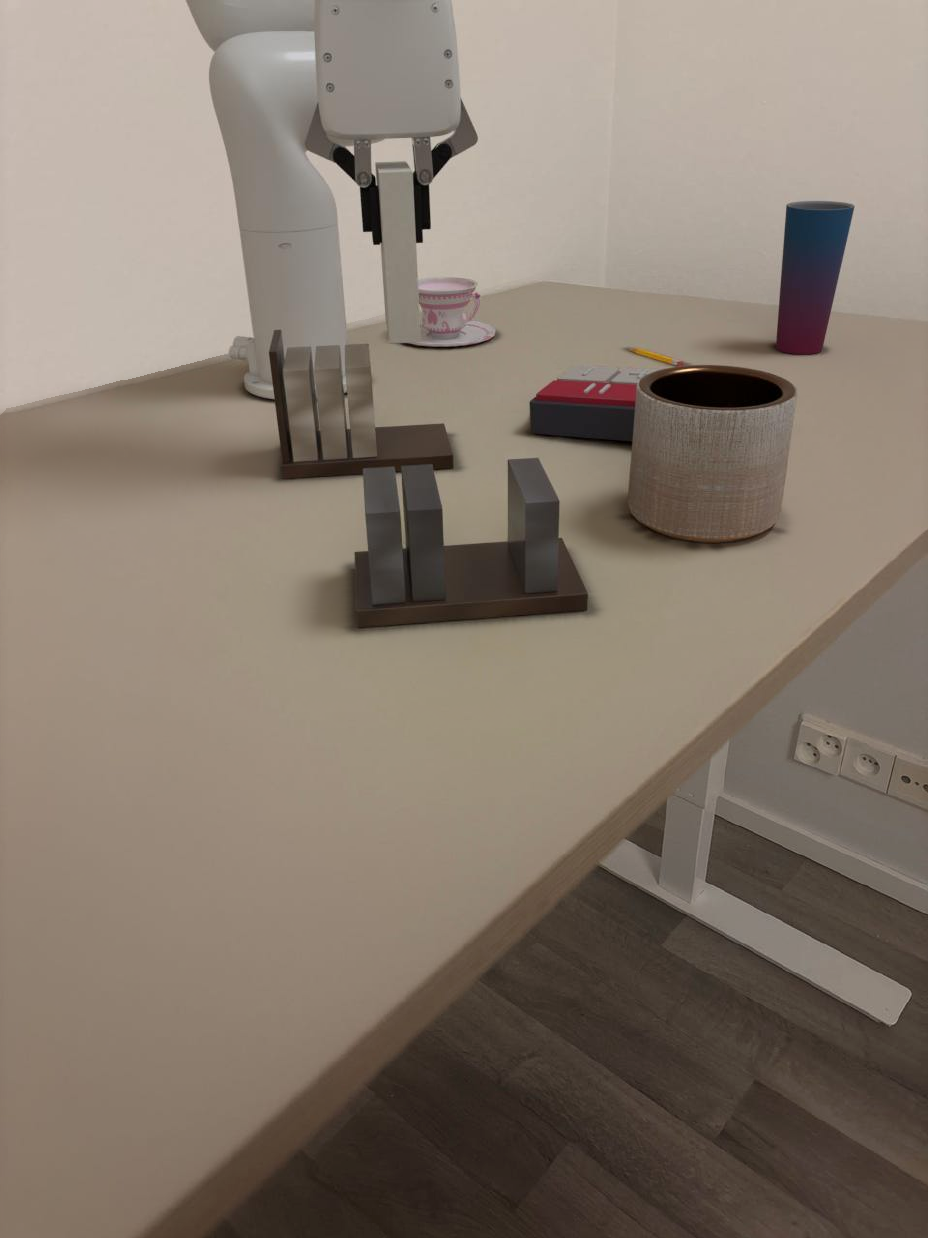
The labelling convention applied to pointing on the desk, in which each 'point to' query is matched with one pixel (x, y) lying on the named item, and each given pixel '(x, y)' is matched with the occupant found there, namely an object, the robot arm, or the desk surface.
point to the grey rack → (461, 554)
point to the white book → (399, 251)
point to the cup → (810, 272)
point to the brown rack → (341, 417)
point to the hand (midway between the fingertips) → (397, 238)
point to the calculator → (588, 403)
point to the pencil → (657, 357)
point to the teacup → (449, 313)
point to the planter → (710, 451)
